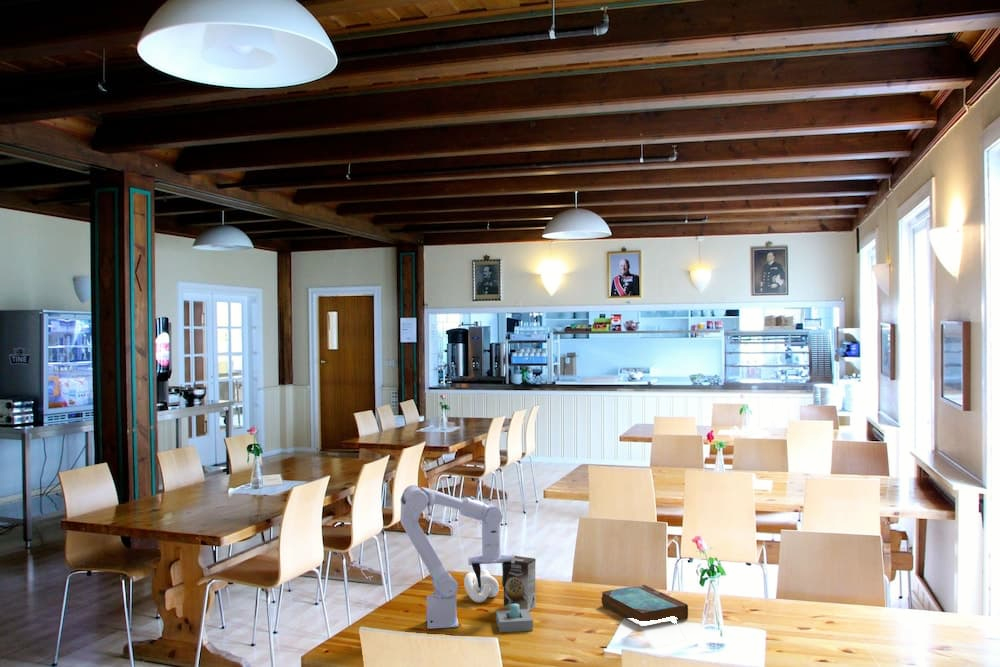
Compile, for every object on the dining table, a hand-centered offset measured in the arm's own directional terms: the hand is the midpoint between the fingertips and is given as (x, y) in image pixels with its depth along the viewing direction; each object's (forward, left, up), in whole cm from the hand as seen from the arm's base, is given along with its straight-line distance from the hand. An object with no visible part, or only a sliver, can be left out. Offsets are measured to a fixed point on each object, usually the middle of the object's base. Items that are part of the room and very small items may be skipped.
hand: (491, 586), depth 247 cm
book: (+49, -2, -11) cm, 50 cm away
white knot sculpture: (-2, +20, -10) cm, 23 cm away
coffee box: (+10, +8, -10) cm, 16 cm away
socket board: (+6, -8, -10) cm, 14 cm away
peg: (+6, -8, -10) cm, 14 cm away
